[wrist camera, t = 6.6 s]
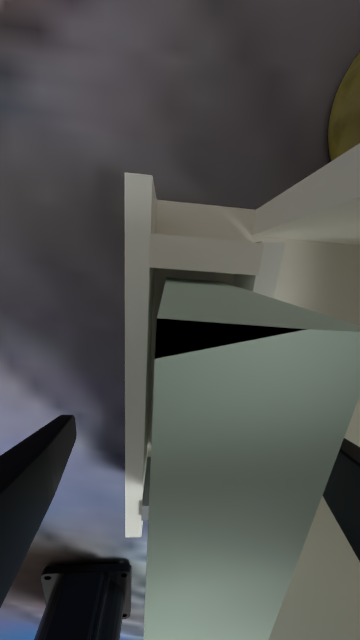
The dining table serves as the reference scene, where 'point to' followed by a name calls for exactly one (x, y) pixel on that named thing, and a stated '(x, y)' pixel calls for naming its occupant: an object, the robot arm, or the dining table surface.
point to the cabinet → (187, 336)
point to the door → (240, 456)
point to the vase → (346, 113)
